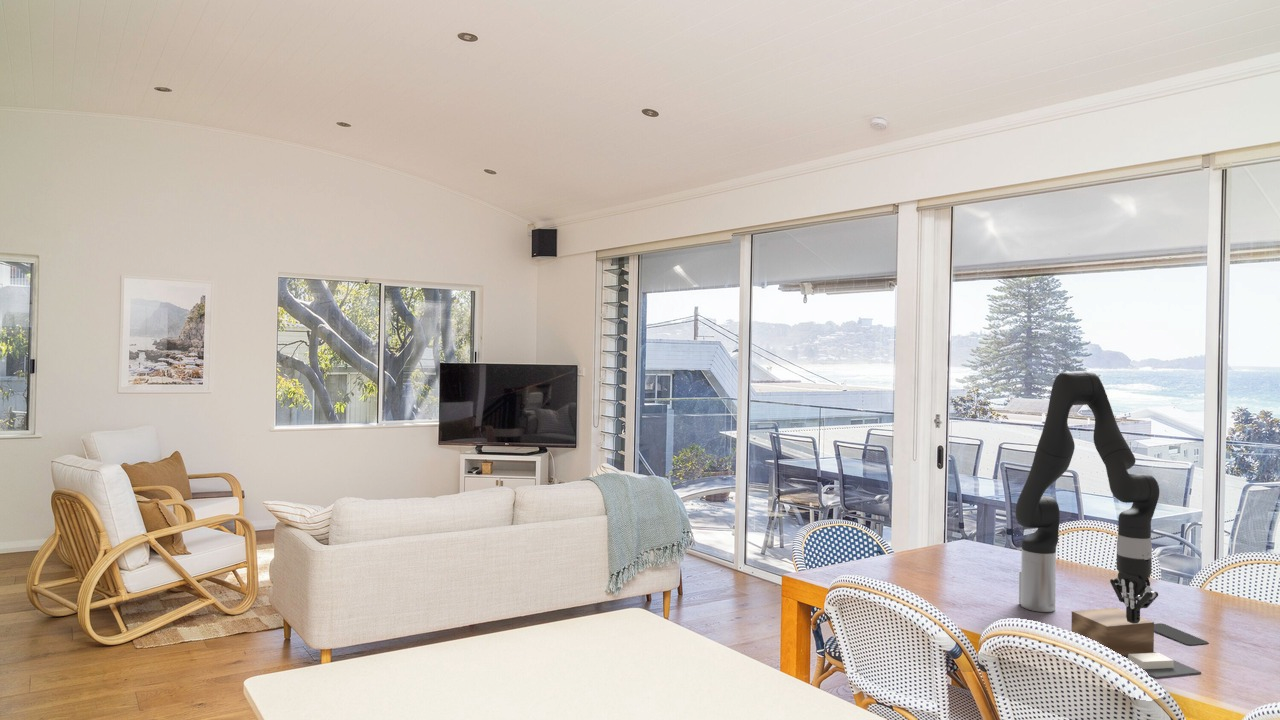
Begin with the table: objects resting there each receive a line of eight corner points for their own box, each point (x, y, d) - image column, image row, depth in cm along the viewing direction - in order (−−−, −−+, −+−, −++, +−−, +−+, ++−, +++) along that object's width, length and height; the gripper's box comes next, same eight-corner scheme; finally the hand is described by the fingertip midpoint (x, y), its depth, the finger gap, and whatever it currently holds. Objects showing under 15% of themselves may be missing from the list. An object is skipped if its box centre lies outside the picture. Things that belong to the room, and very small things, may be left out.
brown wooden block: (1071, 641, 215) (1071, 611, 215) (1115, 637, 218) (1116, 607, 218) (1107, 658, 204) (1107, 626, 203) (1153, 653, 207) (1154, 622, 207)
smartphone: (1187, 644, 212) (1140, 624, 227) (1187, 648, 212) (1140, 627, 227) (1211, 642, 214) (1162, 622, 228) (1210, 646, 214) (1162, 625, 229)
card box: (1142, 661, 195) (1142, 670, 195) (1173, 660, 196) (1173, 668, 196) (1128, 653, 200) (1128, 662, 200) (1158, 652, 201) (1157, 660, 201)
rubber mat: (1112, 657, 204) (1112, 656, 204) (1155, 653, 207) (1155, 652, 207) (1155, 678, 191) (1155, 676, 191) (1201, 673, 194) (1201, 671, 194)
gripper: (1100, 548, 210) (1099, 615, 210) (1143, 561, 197) (1142, 632, 197) (1125, 546, 211) (1124, 612, 212) (1169, 559, 199) (1168, 630, 199)
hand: (1133, 622), depth 204 cm, fingers closed
